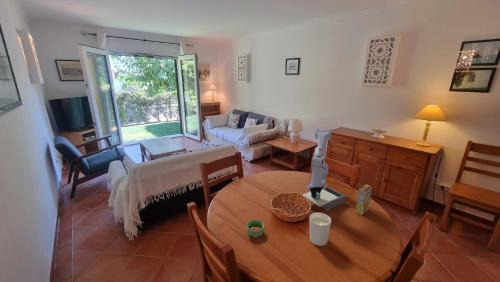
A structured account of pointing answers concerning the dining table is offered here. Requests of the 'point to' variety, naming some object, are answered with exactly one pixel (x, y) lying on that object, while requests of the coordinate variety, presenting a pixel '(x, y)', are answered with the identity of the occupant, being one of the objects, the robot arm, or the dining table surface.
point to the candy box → (363, 199)
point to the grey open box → (336, 202)
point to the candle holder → (319, 228)
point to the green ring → (255, 224)
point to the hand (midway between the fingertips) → (315, 196)
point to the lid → (320, 197)
